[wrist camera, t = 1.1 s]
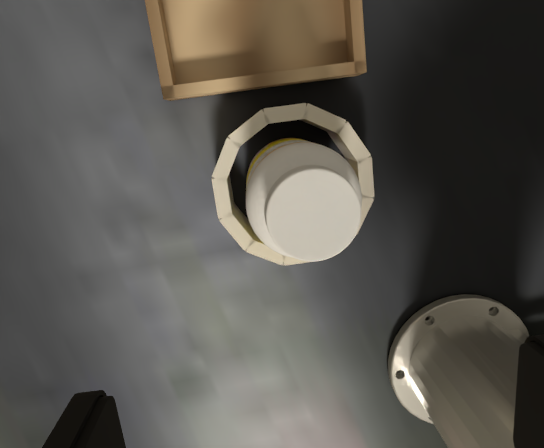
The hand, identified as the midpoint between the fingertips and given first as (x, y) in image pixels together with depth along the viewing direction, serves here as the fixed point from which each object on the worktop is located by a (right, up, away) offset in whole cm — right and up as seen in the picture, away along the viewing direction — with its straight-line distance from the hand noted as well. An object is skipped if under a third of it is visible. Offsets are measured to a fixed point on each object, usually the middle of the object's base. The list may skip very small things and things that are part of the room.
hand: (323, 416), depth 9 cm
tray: (-2, +20, +20) cm, 28 cm away
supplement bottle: (0, +8, +23) cm, 24 cm away
